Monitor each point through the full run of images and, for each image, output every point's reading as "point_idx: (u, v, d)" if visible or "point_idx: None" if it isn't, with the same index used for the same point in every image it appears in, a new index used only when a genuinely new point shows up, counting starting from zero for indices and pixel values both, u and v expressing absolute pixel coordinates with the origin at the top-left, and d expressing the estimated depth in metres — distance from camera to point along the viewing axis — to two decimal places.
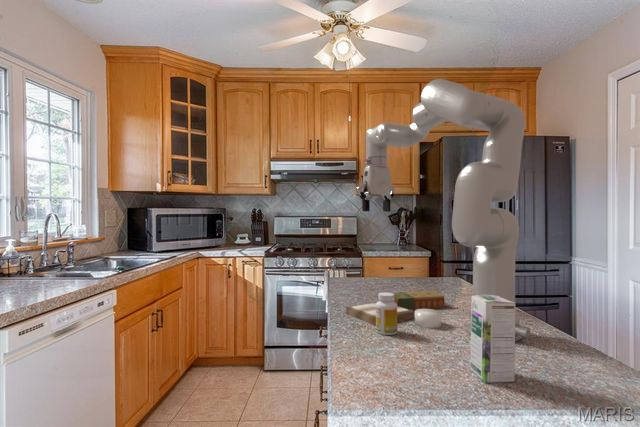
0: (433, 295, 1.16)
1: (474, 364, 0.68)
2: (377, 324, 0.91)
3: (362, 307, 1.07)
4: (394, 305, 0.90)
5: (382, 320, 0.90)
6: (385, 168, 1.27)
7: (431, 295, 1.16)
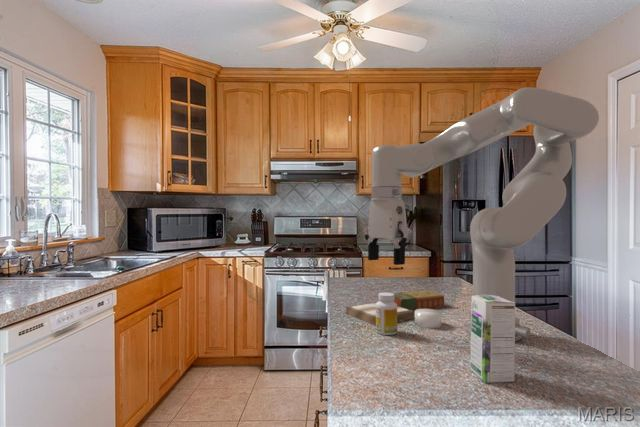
0: (433, 294, 1.17)
1: (474, 364, 0.68)
2: (377, 324, 0.91)
3: (362, 307, 1.07)
4: (394, 305, 0.90)
5: (382, 320, 0.90)
6: None
7: (431, 295, 1.17)
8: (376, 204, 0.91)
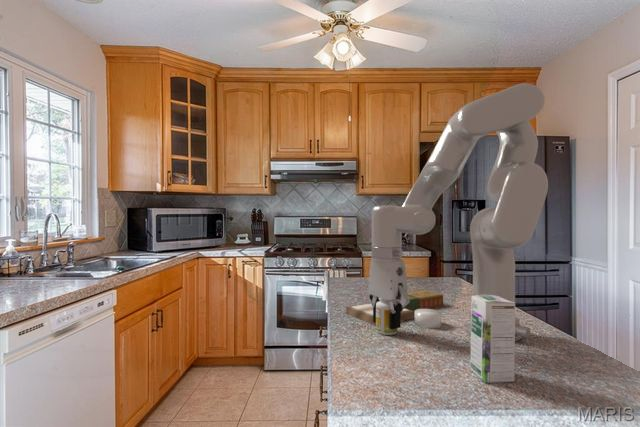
0: (433, 294, 1.18)
1: (474, 364, 0.68)
2: (377, 324, 0.91)
3: (362, 307, 1.07)
4: None
5: (382, 320, 0.90)
6: None
7: (431, 294, 1.17)
8: (377, 264, 0.91)
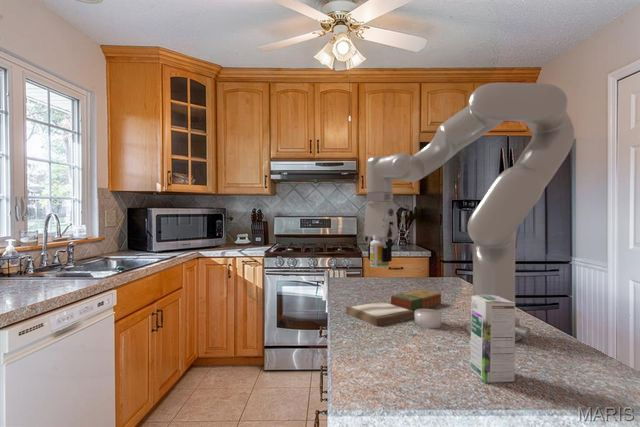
0: (432, 293, 1.19)
1: (474, 364, 0.68)
2: (371, 259, 1.05)
3: (362, 307, 1.07)
4: None
5: (375, 255, 1.04)
6: None
7: (431, 293, 1.18)
8: (371, 207, 1.05)
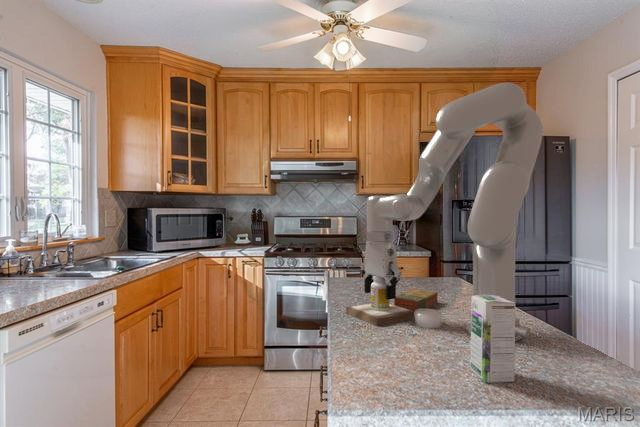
0: (430, 292, 1.20)
1: (474, 364, 0.68)
2: (372, 301, 1.05)
3: (362, 307, 1.07)
4: None
5: (376, 298, 1.04)
6: None
7: (429, 293, 1.19)
8: (371, 246, 1.05)
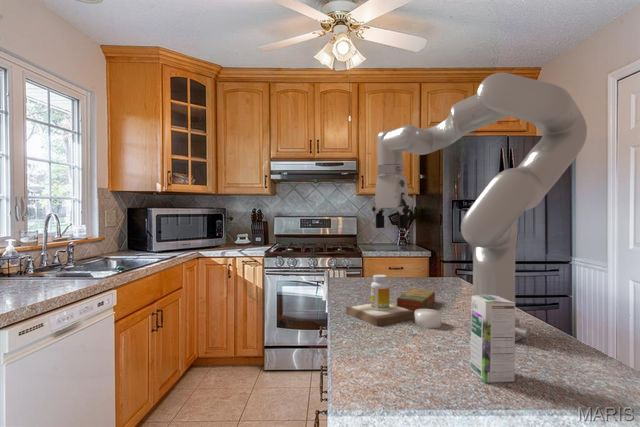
0: (429, 292, 1.21)
1: (474, 364, 0.68)
2: (372, 301, 1.05)
3: (362, 307, 1.07)
4: (386, 285, 1.04)
5: (376, 298, 1.04)
6: None
7: (428, 292, 1.20)
8: (382, 180, 1.09)
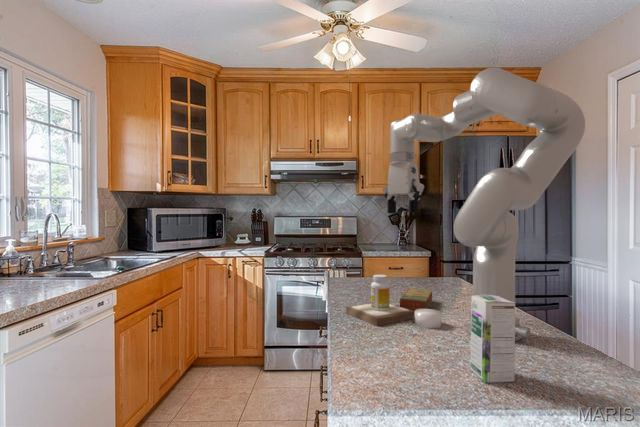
0: (427, 292, 1.21)
1: (474, 364, 0.68)
2: (372, 301, 1.05)
3: (362, 307, 1.07)
4: (386, 285, 1.04)
5: (376, 298, 1.04)
6: None
7: (427, 292, 1.21)
8: (394, 167, 1.14)
